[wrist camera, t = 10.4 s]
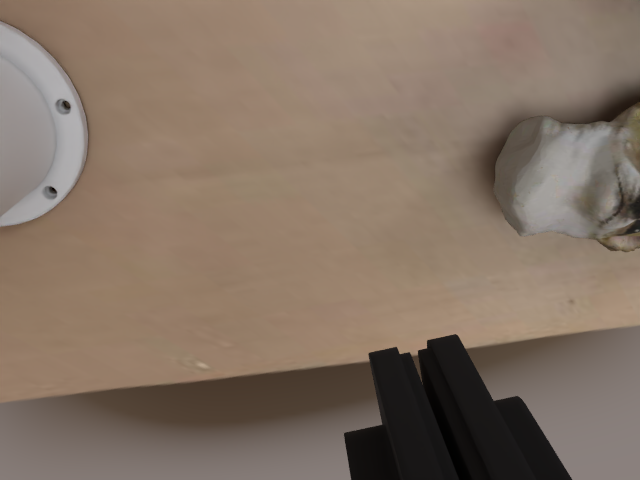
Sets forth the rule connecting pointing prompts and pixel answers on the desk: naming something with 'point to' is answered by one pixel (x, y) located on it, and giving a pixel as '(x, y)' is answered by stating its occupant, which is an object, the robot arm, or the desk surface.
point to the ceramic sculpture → (573, 179)
